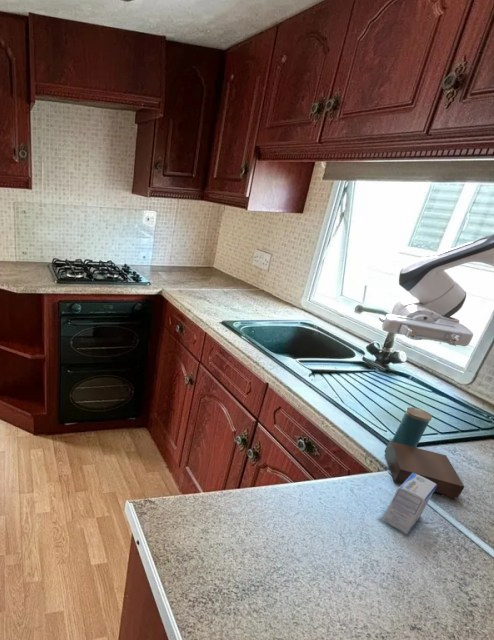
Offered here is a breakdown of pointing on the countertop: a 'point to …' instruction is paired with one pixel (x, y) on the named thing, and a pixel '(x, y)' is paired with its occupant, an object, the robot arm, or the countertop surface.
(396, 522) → the medicine box
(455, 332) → the robot arm
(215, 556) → the countertop surface
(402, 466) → the walnut platform
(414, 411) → the teal canister
